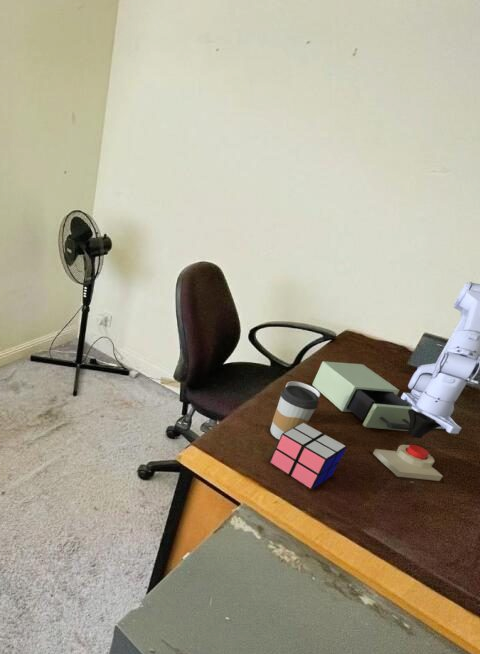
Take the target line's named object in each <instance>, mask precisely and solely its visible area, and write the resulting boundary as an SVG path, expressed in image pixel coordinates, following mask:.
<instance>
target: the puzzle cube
mask: <svg viewBox="0 0 480 654" xmlns="http://www.w3.org/2000/svg"><path fill="white" fill-rule="evenodd" d="M347 449H348V448H347V446H346V445H344V444H343V443H341V442H339V441H337V440H336V439H334V438H332V437H330V436H328V435H327V434H323V432H321V431H319V430H317V429H316V428H313V427H312V426H310V425H308V424H307V425H306V424H304V423H301V424H299V425H297V426H295V427H293V428H292V429H290V430H288V431H286V432H284V433H282V435H281V437H280V439H278V442H277V444H276V447H275V448H274V450H273V453H272V455H271V457H270V460H269V463H270V464H271V465H273V466H275V467H276V468H278V469H279V470H281V471H283V472H284V473H286V474H287V475H290V477H292V478H293V479H295V480H296V481H298V482H299V483H301V484H302V485H304V486H305V487H307V488H309V489H310V490H314V489H315V488H317V487H318V486H319V485H321V484H322V483H324V482H325V481H326V480H328V479H329V478H331V477H332V476H333V474H334V472H335V471H336V469H337V467H338V465H339V463H340V462H341V460H342V458H343V456H344V454H345V452H346V451H347Z"/></svg>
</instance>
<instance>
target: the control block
mask: <svg viewBox="0 0 480 654" xmlns="http://www.w3.org/2000/svg"><path fill="white" fill-rule="evenodd" d="M410 445H411V444H400V445H399V446H398V447H397V449H396V450H390V449H389V450H388V449H379V448H375V449H374V451H373V452H372V455H373V456H374V457H375V458H376V459H378V460H379V461H380V462H381V463H382V464H383V465H384V466H385V467H386V468H387V469H388V470H389V471H391V472H392V473H393V474H394V475H395V476H396V477H397V478H398V477H399V478H407V479H418V480H426V481H435V482H436V481H437V482H440V481H441V480H442V478H443V477H444V476H443V475H442V474H441V473H440V472H439V471H438V470H437V469H435V468H434V467H433V465H434V464H435V459H434V457H433V456H431V454H430V453H429V454H428V456H427V457H426V459H425V460H422V459H419V458H416V457H414V456H412V455H410V454H409V453H407V449H408V447H409V446H410Z"/></svg>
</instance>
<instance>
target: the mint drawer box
mask: <svg viewBox="0 0 480 654" xmlns="http://www.w3.org/2000/svg"><path fill="white" fill-rule="evenodd" d="M311 386H312V387H313V388H315V389H316V390H318V391H319V393H320V394H322V395H323V396H324V398H326V399H328V400H329V401H330V403H332V404H333V405H334V406H335V407H336V408H337V409H338V410H339V411H341V412H344V413H352V412H351V411H350V410H349V409H348V408H347V406H348V404H349V402H350V400H351V399H352V397H353V395H354V393H355V391H356V389H364V390H376V391H388V392H393V393H394V394H395V395H397V396H398V394H399V392H400V389H398V388H397V387H396V386H394V385H393V384H392V383H390V382H389V381H387V380H386V379H384V378H383V377H381V376H380V375H379V374H377V373H375V372H374V371H373V370H372V369H370V368H368V367H367V366H366V365H365V364H363V363H362V364H361V363H350V362H349V363H348V362H338V361H321V364H320V365H319V369H318V371H317V373H316V375H315V377H314V379H313V382H312V385H311Z"/></svg>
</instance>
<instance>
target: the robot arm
mask: <svg viewBox="0 0 480 654" xmlns="http://www.w3.org/2000/svg"><path fill="white" fill-rule="evenodd" d="M453 308H454V309H455V310H457V311H459V312H460V317H459V320H458V322H457V324H456V326H455V327H454V329H453V331H452V333H451V335H450V336H449V338H448V340H447V342H446V344H445V346H444V347H443V349H442V351H441V353H440V354H439V356H438V357H437V359H436V362H434V363H427V364H421V365H420V366H418V367H417V368H416V370H415V371H414V373H413V375H412V376H411V378H410V379H409V382H408V385H407V387H408V389H409V390H411V391H410V392H403V393H402V394H401V396H400V398H401V399H402V400H404V401H405V402H407V403H408V404H409V406H408V407H411V408H412V409H409V410H408V414H409V418H410V428H409V430H408V435H409V436H410V437H411V438H415V439H421V438H423V437H424V436H425V435H427V434H428V433H429V432H431V431H433V430H435V429H438V430H445V431H446V432H447V433H448V434H455V435H459V433H460V432H461V430H462V427H461V426H460V425H459V424H457V422H455V421H454V419H453V418H452V417H451V416H452V415H453V413H454V411H455V405H454V404H455V402H456V401H457V400H458V399H459V397H460V395H461V393H462V392H463V390H464V389H465V387H466V385H468V383H469V382H472V381H473V380H474V379H475V378H476V376H477V375H478V373H479V372H480V283H475V282H473V281H468V282H464V284H463V286H462V287H461V289H460V291H459V293H458V294H457V297H456V299H455V301H454V303H453Z"/></svg>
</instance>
